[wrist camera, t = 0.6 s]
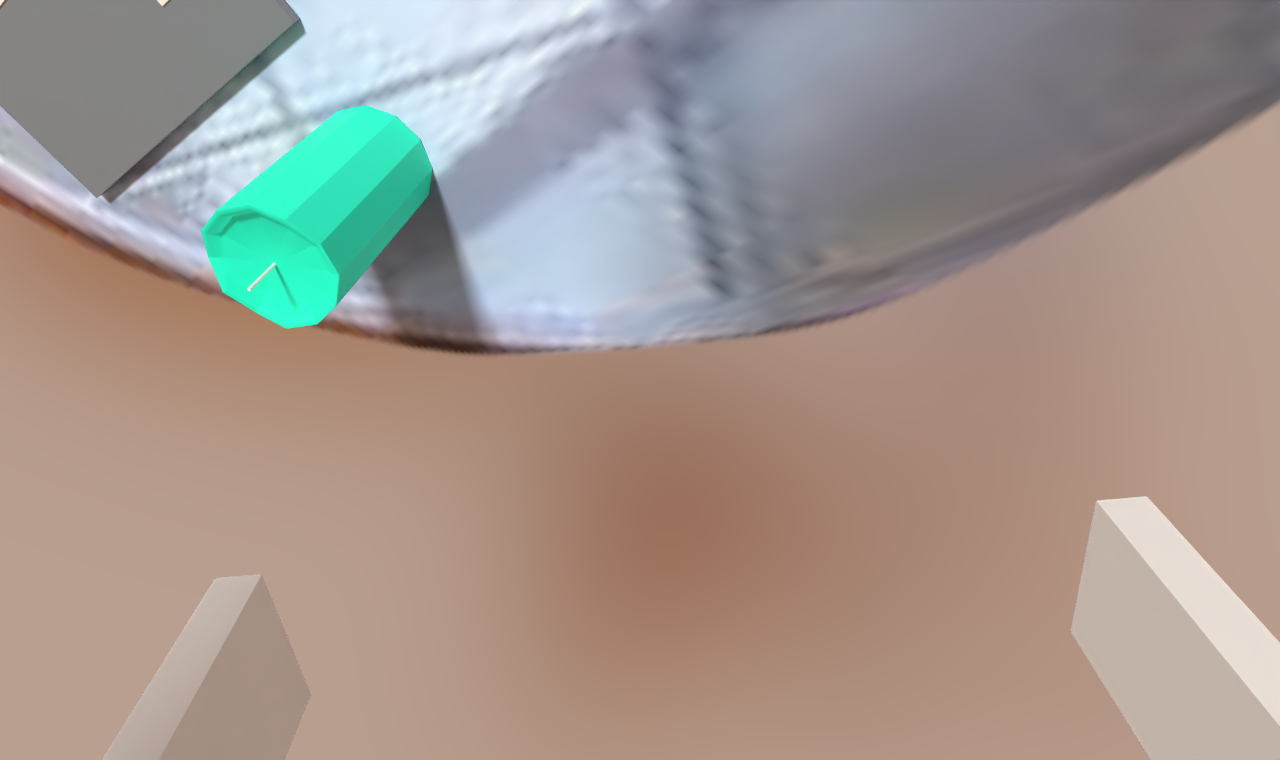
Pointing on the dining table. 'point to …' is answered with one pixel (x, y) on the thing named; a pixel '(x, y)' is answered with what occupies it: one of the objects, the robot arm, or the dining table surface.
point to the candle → (318, 216)
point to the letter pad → (123, 71)
